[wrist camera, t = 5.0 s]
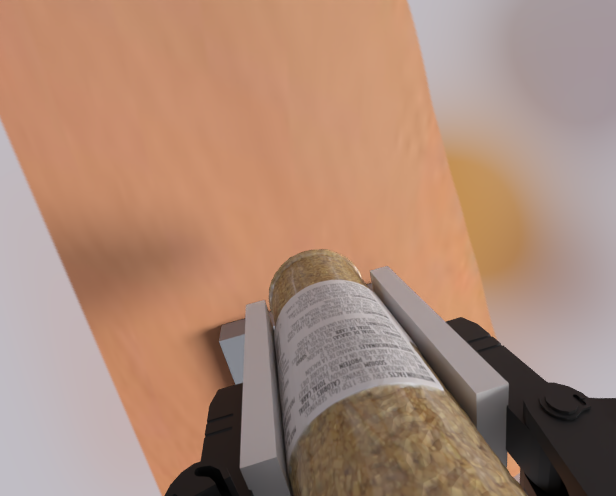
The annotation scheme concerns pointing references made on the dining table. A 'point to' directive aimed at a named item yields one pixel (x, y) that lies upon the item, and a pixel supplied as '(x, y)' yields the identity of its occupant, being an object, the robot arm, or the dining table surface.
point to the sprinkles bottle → (366, 395)
